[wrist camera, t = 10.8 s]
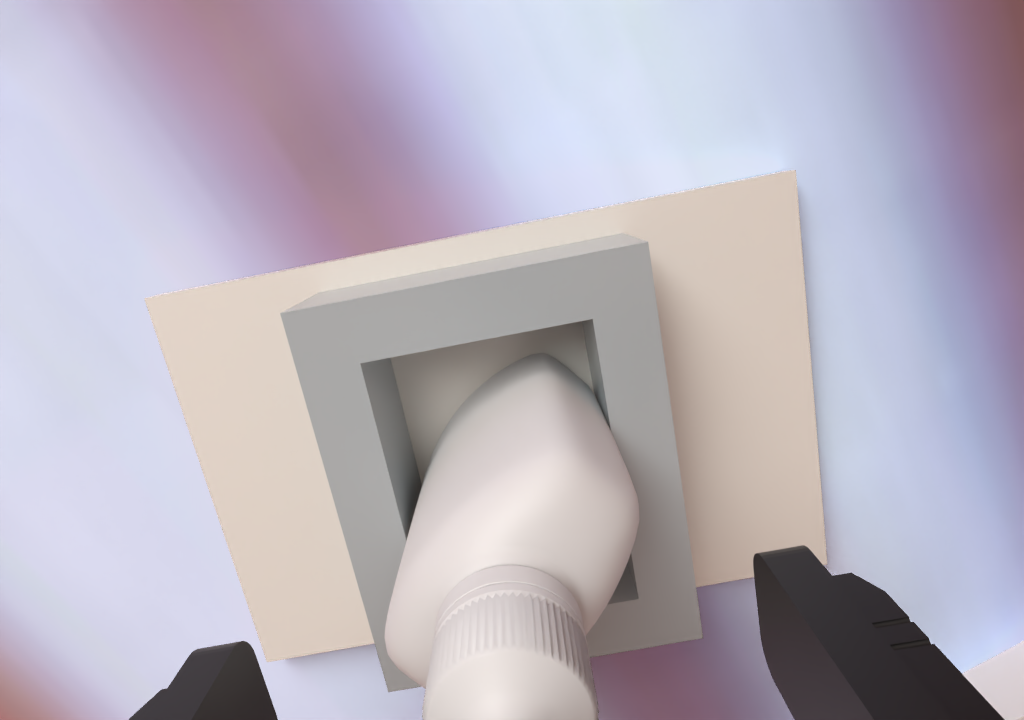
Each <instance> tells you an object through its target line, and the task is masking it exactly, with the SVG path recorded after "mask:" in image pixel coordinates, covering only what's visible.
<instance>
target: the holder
mask: <svg viewBox="0 0 1024 720" xmlns="http://www.w3.org/2000/svg"><path fill="white" fill-rule="evenodd" d="M962 674H963V676H964V677H965V678H966V679H967V680H968V681H969V682H970V683H971V684H972V685H973V686H974V687H975V688H976V689H977V691H978V692H979V693H980V694H981V695H982V696H983V697H984V698H985V699H986V700H987V701H988V702H989V703H990V704H991V706H992V707H993V708H994V709H995V710H996V711H997V712H998V713H999V714H1000V715H1001V716H1002V717H1003V718H1004V719H1005V720H1024V641H1022V642H1021V643H1019V644H1017V645H1015V646H1013V647H1011V648H1009V649H1007V650H1005V651H1004V652H1002V653H1000V654H998V655H996V656H994V657H992V658H990V659H989V660H987V661H985V662H983V663H981V664H979V665H977V666H975V667H973V668H972V669H970V670H968V671H966V672H964V673H962Z"/></svg>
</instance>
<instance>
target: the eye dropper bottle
mask: <svg viewBox="0 0 1024 720" xmlns="http://www.w3.org/2000/svg"><path fill="white" fill-rule="evenodd" d="M639 520H640V518H639V503H638V497H637V494H636V491H635V489H634V486H633V483H632V481H631V478H630V475H629V473H628V470H627V468H626V466H625V463H624V461H623V459H622V456H621V454H620V452H619V449H618V447H617V445H616V442H615V440H614V437H613V435H612V433H611V431H610V428H609V426H608V424H607V421H606V419H605V417H604V415H603V412H602V410H601V408H600V406H599V403H598V401H597V399H596V397H595V395H594V393H593V392H592V390H591V389H590V387H589V386H588V385H587V384H586V383H585V382H584V381H583V380H582V379H581V378H579V377H578V376H577V375H576V374H574V373H573V372H572V371H571V370H569V369H568V368H567V367H566V366H565V365H563V364H562V363H561V362H559V361H558V360H557V359H555V358H554V357H552V356H550V355H547V354H545V353H538V354H531V355H529V356H527V357H524V358H522V359H520V360H518V361H516V362H514V363H512V364H511V365H509V366H507V367H506V368H504V369H502V370H501V371H499V372H498V373H496V374H495V375H494V376H492V377H491V378H490V379H488V380H487V381H486V382H484V383H483V384H482V385H481V386H480V387H479V388H478V389H476V390H475V391H474V392H473V393H472V394H471V395H470V396H469V397H468V398H467V399H466V401H465V402H464V403H463V404H462V405H461V406H460V407H459V409H458V410H457V411H456V413H455V414H454V415H453V417H452V418H451V420H450V421H449V423H448V424H447V426H446V427H445V429H444V431H443V432H442V434H441V436H440V438H439V440H438V442H437V444H436V446H435V449H434V451H433V453H432V456H431V458H430V461H429V464H428V467H427V470H426V473H425V476H424V480H423V483H422V487H421V491H420V494H419V498H418V501H417V505H416V508H415V512H414V515H413V519H412V523H411V526H410V530H409V533H408V537H407V541H406V544H405V548H404V552H403V555H402V559H401V563H400V566H399V570H398V574H397V577H396V581H395V585H394V589H393V593H392V597H391V601H390V605H389V609H388V614H387V620H386V625H385V636H384V637H385V643H386V649H387V653H388V656H389V657H390V658H391V660H392V661H393V662H394V664H395V665H396V666H397V668H398V669H399V670H400V671H402V672H403V673H404V674H405V675H407V676H408V677H409V678H411V679H412V680H413V681H415V682H416V683H418V684H419V685H420V686H422V687H423V688H425V689H426V690H425V696H424V702H423V713H422V717H423V720H599V719H598V713H599V710H598V702H597V696H596V691H595V685H594V680H593V674H592V669H591V663H590V658H589V652H588V647H587V641H586V635H587V633H588V632H589V631H590V629H591V628H592V627H593V625H594V624H595V623H596V621H597V620H598V618H599V617H600V615H601V614H602V612H603V611H604V609H605V607H606V606H607V604H608V602H609V600H610V599H611V597H612V595H613V593H614V591H615V589H616V587H617V585H618V583H619V581H620V579H621V577H622V575H623V572H624V570H625V567H626V565H627V562H628V560H629V557H630V554H631V551H632V548H633V545H634V542H635V538H636V534H637V529H638V525H639Z"/></svg>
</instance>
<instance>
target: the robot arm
mask: <svg viewBox="0 0 1024 720" xmlns="http://www.w3.org/2000/svg"><path fill="white" fill-rule="evenodd" d="M753 569H754V578H755V588H756V597H757V606H758V615H759V625H760V634H761V641H762V646H763V651H764V654H765V658H766V661H767V664H768V667H769V670H770V673H771V675H772V678H773V680H774V682H775V684H776V686H777V688H778V689H779V691H780V693H781V695H782V697H783V699H784V701H785V702H786V704H787V706H788V708H789V710H790V712H791V714H792V715H793V717H794V719H795V720H1005V719H1004V718H1003V717H1002V716H1001V715H1000V714H999V713H998V712H997V711H996V710H995V709H994V708H993V707H992V706H991V704H990V703H989V702H988V701H987V700H986V699H985V698H984V697H983V696H982V695H981V694H980V693H979V692H978V691H977V689H976V688H975V687H974V686H973V685H972V684H971V683H970V682H969V681H968V680H967V679H966V678H965V677H964V676H963V674H962V673H961V672H960V671H959V670H958V669H957V668H956V667H955V666H954V665H953V664H952V663H951V662H950V661H949V659H948V658H947V657H946V656H945V655H944V654H943V653H942V652H941V651H940V650H939V649H938V648H937V647H936V646H935V644H931V643H930V641H929V638H928V637H927V636H926V635H925V634H924V633H923V632H922V631H921V629H920V628H919V627H918V626H917V625H916V624H915V623H914V622H910V620H909V617H908V616H907V614H906V613H905V612H904V611H903V610H902V609H901V608H900V607H899V606H898V605H897V604H896V603H895V602H894V601H893V599H892V598H891V597H890V596H889V595H888V594H887V593H886V592H885V591H883V590H881V589H880V588H878V587H876V586H874V585H872V584H871V583H869V582H867V581H865V580H863V579H862V578H860V577H858V576H856V575H854V574H853V573H847V574H841V575H835V576H832V575H831V574H830V573H829V572H828V570H827V569H826V568H825V567H824V566H823V564H822V563H821V562H820V561H819V560H818V558H817V557H816V556H815V555H814V554H813V552H812V551H811V550H810V549H809V548H808V547H807V546H804V545H801V546H796V547H790V548H784V549H778V550H773V551H767V552H761V553H756V554H755V555H754V558H753ZM129 720H278V719H277V715H276V713H275V710H274V707H273V704H272V701H271V698H270V695H269V692H268V690H267V687H266V684H265V681H264V678H263V675H262V672H261V669H260V667H259V664H258V661H257V658H256V655H255V653H254V650H253V648H252V647H251V645H250V644H249V643H247V642H245V641H241V642H235V643H230V644H224V645H218V646H212V647H207V648H201V649H197V650H195V651H193V652H192V653H191V654H190V656H189V657H188V658H187V660H186V661H185V663H184V664H183V666H182V667H181V669H180V670H179V672H178V673H177V675H176V676H175V678H174V679H173V681H172V682H171V684H170V685H169V687H168V688H167V689H162V690H160V691H159V692H158V693H157V694H156V695H155V696H154V697H153V698H152V699H151V700H150V701H148V702H147V703H146V704H145V705H144V706H143V707H142V708H141V709H140V710H139V711H137V712H136V713H135V714H134V715H133V716H132V717H131V718H130V719H129Z"/></svg>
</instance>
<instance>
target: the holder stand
mask: <svg viewBox="0 0 1024 720" xmlns="http://www.w3.org/2000/svg"><path fill="white" fill-rule="evenodd" d="M144 299H145V302H146V305H147V308H148V311H149V314H150V317H151V320H152V323H153V326H154V329H155V332H156V335H157V338H158V341H159V344H160V347H161V349H162V352H163V355H164V358H165V361H166V364H167V367H168V370H169V373H170V376H171V379H172V382H173V385H174V388H175V391H176V394H177V397H178V400H179V403H180V406H181V409H182V412H183V415H184V418H185V421H186V424H187V426H188V429H189V432H190V435H191V438H192V441H193V444H194V447H195V450H196V453H197V456H198V459H199V462H200V465H201V468H202V471H203V474H204V477H205V480H206V483H207V486H208V489H209V492H210V495H211V498H212V501H213V503H214V506H215V509H216V512H217V515H218V518H219V521H220V524H221V527H222V530H223V533H224V536H225V539H226V542H227V545H228V548H229V551H230V554H231V557H232V560H233V563H234V566H235V569H236V572H237V575H238V578H239V580H240V583H241V586H242V589H243V592H244V595H245V598H246V601H247V604H248V607H249V610H250V613H251V616H252V619H253V622H254V625H255V628H256V631H257V634H258V637H259V640H260V643H261V646H262V649H263V652H264V655H265V658H266V660H267V662H271V661H277V660H283V659H288V658H294V657H300V656H306V655H311V654H317V653H323V652H329V651H334V650H340V649H346V648H351V647H357V646H363V645H369V644H374V643H375V647H376V650H377V653H378V657H379V660H380V664H381V667H382V671H383V674H384V678H385V681H386V685H387V688H388V692H393V691H398V690H404V689H410V688H416V687H422V686H420V685H419V684H418V683H416V682H415V681H413V680H412V679H411V678H409V677H408V676H407V675H405V674H404V673H403V672H402V671H400V670H399V669H398V668H397V666H396V665H395V664H394V662H393V661H392V660H391V658H390V657H389V656H388V653H387V649H386V643H385V637H384V636H385V625H386V620H387V614H388V609H389V605H390V601H391V597H392V593H393V589H394V585H395V581H396V577H397V574H398V570H399V566H400V563H401V559H402V555H403V552H404V548H405V544H406V541H407V537H408V533H409V530H410V526H411V523H412V519H413V515H414V512H415V508H416V505H417V501H418V498H419V494H420V491H421V487H422V483H423V480H424V476H425V473H426V470H427V467H428V464H429V461H430V458H431V456H432V453H433V451H434V449H435V446H436V444H437V442H438V440H439V438H440V436H441V434H442V432H443V431H444V429H445V427H446V426H447V424H448V423H449V421H450V420H451V418H452V417H453V415H454V414H455V413H456V411H457V410H458V409H459V407H460V406H461V405H462V404H463V403H464V402H465V401H466V399H467V398H468V397H469V396H470V395H471V394H472V393H473V392H474V391H475V390H476V389H478V388H479V387H480V386H481V385H482V384H483V383H484V382H486V381H487V380H488V379H490V378H491V377H492V376H494V375H495V374H496V373H498V372H499V371H501V370H502V369H504V368H506V367H507V366H509V365H511V364H512V363H514V362H516V361H518V360H520V359H522V358H524V357H527V356H529V355H531V354H538V353H545V354H547V355H550V356H552V357H554V358H555V359H557V360H558V361H559V362H561V363H562V364H563V365H565V366H566V367H567V368H568V369H569V370H571V371H572V372H573V373H574V374H576V375H577V376H578V377H579V378H581V379H582V380H583V381H584V382H585V383H586V384H587V385H588V386H589V387H590V389H591V390H592V392H593V393H594V395H595V397H596V399H597V401H598V403H599V406H600V408H601V410H602V412H603V415H604V417H605V419H606V421H607V424H608V426H609V428H610V431H611V433H612V435H613V437H614V440H615V442H616V445H617V447H618V449H619V452H620V454H621V456H622V459H623V461H624V463H625V466H626V468H627V470H628V473H629V475H630V478H631V481H632V483H633V486H634V489H635V491H636V494H637V497H638V503H639V518H640V520H639V525H638V529H637V534H636V538H635V542H634V545H633V548H632V551H631V554H630V557H629V560H628V562H627V565H626V567H625V570H624V572H623V575H622V577H621V579H620V581H619V583H618V585H617V587H616V589H615V591H614V593H613V595H612V597H611V599H610V600H609V602H608V604H607V606H606V607H605V609H604V611H603V612H602V614H601V615H600V617H599V618H598V620H597V621H596V623H595V624H594V625H593V627H592V628H591V629H590V631H589V632H588V633H587V635H586V641H587V647H588V652H589V658H591V657H597V656H602V655H608V654H614V653H620V652H626V651H632V650H637V649H643V648H649V647H655V646H661V645H667V644H672V643H678V642H684V641H690V640H696V639H702V638H703V634H702V626H701V619H700V612H699V605H698V597H697V590H696V587H701V586H707V585H712V584H718V583H724V582H730V581H735V580H741V579H747V578H753V577H754V569H753V558H754V555H755V554H756V553H761V552H767V551H773V550H778V549H784V548H790V547H796V546H801V545H804V546H807V547H808V548H809V549H810V550H811V551H812V552H813V554H814V555H815V556H816V557H817V558H818V560H819V561H820V562H821V563H822V564H823V565H827V554H826V541H825V529H824V516H823V504H822V491H821V479H820V467H819V454H818V442H817V429H816V417H815V404H814V392H813V379H812V367H811V355H810V342H809V330H808V317H807V305H806V292H805V280H804V267H803V255H802V242H801V230H800V218H799V205H798V193H797V180H796V170H789V171H780V172H775V173H770V174H765V175H760V176H755V177H750V178H745V179H740V180H735V181H730V182H725V183H720V184H714V185H709V186H704V187H699V188H694V189H689V190H684V191H679V192H674V193H669V194H664V195H659V196H654V197H649V198H644V199H638V200H633V201H628V202H623V203H618V204H613V205H608V206H603V207H598V208H593V209H588V210H583V211H578V212H573V213H568V214H562V215H557V216H552V217H547V218H542V219H537V220H532V221H527V222H522V223H517V224H512V225H507V226H502V227H497V228H492V229H487V230H481V231H476V232H471V233H466V234H461V235H456V236H451V237H446V238H441V239H436V240H431V241H426V242H421V243H416V244H411V245H405V246H400V247H395V248H390V249H385V250H380V251H375V252H370V253H365V254H360V255H355V256H350V257H345V258H340V259H335V260H329V261H324V262H319V263H314V264H309V265H304V266H299V267H294V268H289V269H284V270H279V271H274V272H269V273H264V274H259V275H253V276H248V277H243V278H238V279H233V280H228V281H223V282H218V283H213V284H208V285H203V286H198V287H193V288H188V289H183V290H177V291H172V292H167V293H162V294H158V295H155V296H151V297H148V298H144Z"/></svg>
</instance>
